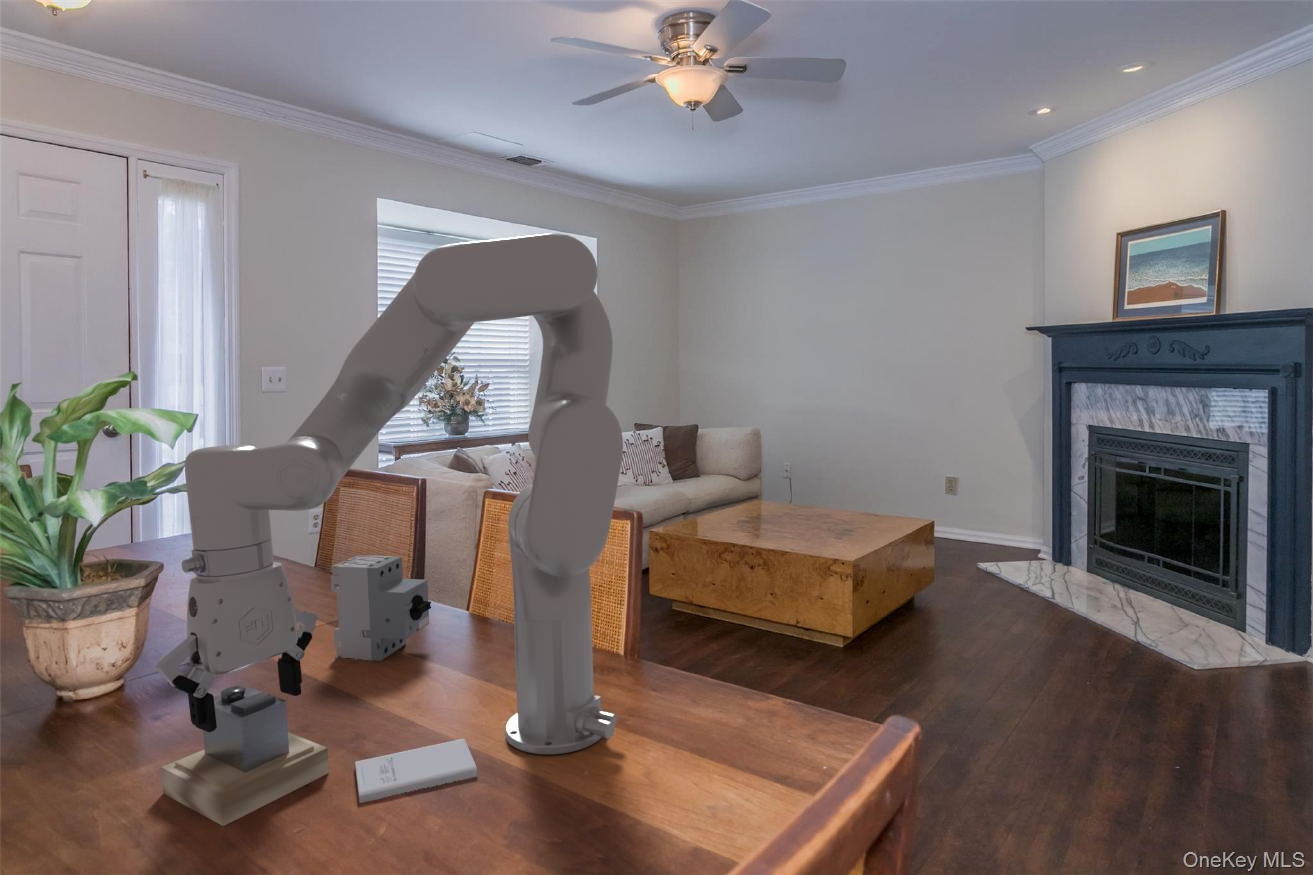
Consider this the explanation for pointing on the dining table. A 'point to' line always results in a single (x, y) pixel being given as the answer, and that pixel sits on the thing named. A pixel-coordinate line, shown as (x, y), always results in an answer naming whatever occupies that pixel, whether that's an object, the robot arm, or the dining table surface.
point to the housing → (247, 728)
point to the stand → (241, 780)
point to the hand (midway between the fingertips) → (250, 710)
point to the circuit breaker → (376, 606)
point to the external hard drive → (414, 770)
